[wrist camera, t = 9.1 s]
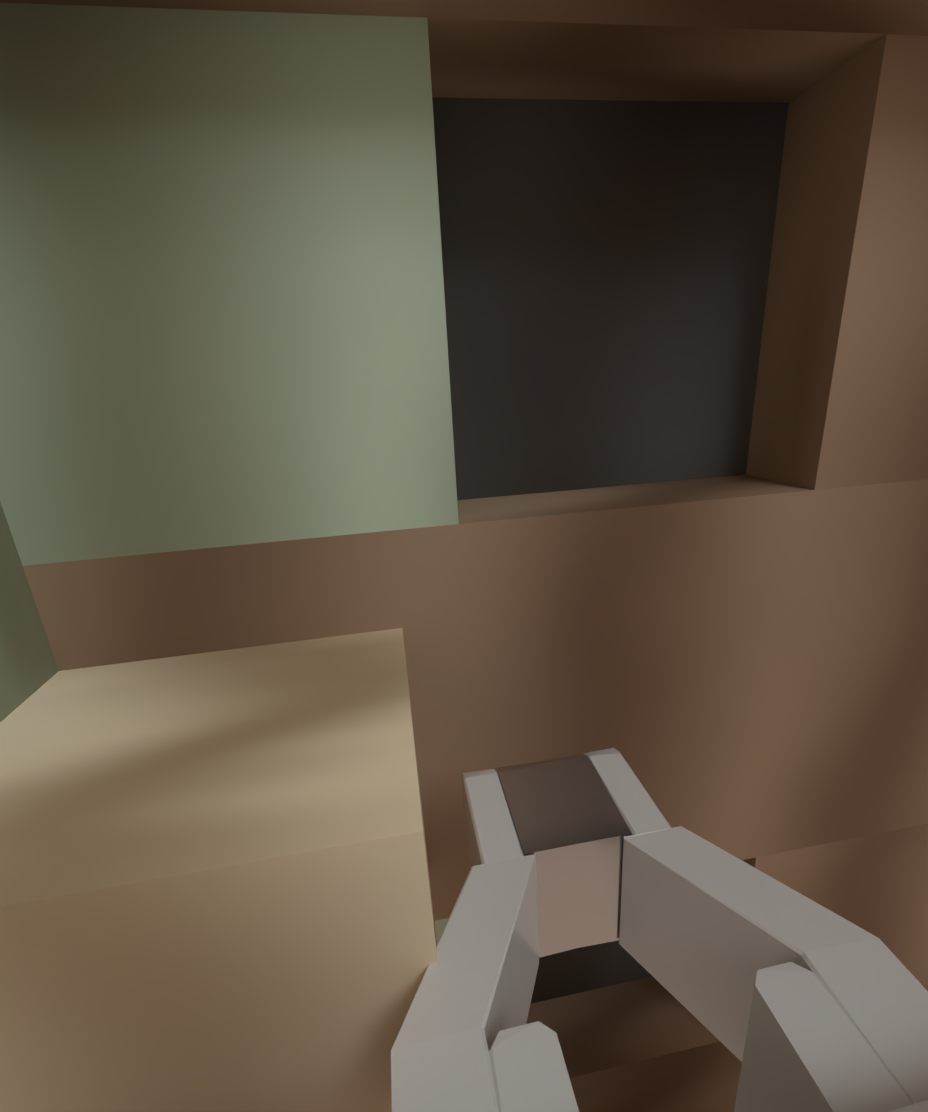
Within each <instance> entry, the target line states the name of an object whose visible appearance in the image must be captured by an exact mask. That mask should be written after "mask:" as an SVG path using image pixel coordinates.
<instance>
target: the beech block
mask: <svg viewBox="0 0 928 1112" xmlns="http://www.w3.org/2000/svg"><path fill="white" fill-rule="evenodd" d="M436 947H437V940H436V931H435V921H434V912H433V902H432V893H431V884H430V874H429V865H428V856H427V847H426V838H425V828H424V819H423V810H422V801H421V792H420V783H419V774H418V765H417V756H416V747H415V738H414V729H413V720H412V710H411V701H410V692H409V683H408V674H407V665H406V656H405V647H404V638H403V629H402V628H398V629H390V630H382V631H374V632H366V633H358V634H350V635H342V636H334V637H326V638H318V639H310V640H302V641H294V642H286V643H278V644H271V645H263V646H255V647H247V648H239V649H231V650H223V651H215V652H207V653H199V654H191V655H183V656H175V657H167V658H159V659H151V660H143V661H135V662H127V663H119V664H111V665H103V666H95V667H87V668H79V669H71V670H63V671H58V672H57V673H56V674H55V675H54V676H53V677H52V678H50V679H49V680H48V681H47V682H46V683H45V684H44V685H42V686H41V687H40V688H39V689H38V690H37V691H36V692H35V693H33V694H32V695H31V696H30V697H29V698H28V699H27V700H25V701H24V702H23V703H22V704H21V705H20V706H19V707H17V708H16V709H15V710H14V711H13V712H12V713H11V714H9V715H8V716H7V717H6V718H5V719H4V720H3V721H1V722H0V1112H392V1095H391V1049H392V1047H393V1045H394V1043H395V1040H396V1038H397V1036H398V1033H399V1031H400V1029H401V1027H402V1024H403V1022H404V1020H405V1017H406V1015H407V1013H408V1011H409V1008H410V1006H411V1004H412V1002H413V999H414V997H415V995H416V992H417V990H418V988H419V986H420V983H421V981H422V979H423V976H424V974H425V972H426V970H427V967H428V965H430V964H435V963H438V960H437V950H436Z"/></svg>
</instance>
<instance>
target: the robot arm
mask: <svg viewBox="0 0 928 1112" xmlns="http://www.w3.org/2000/svg"><path fill="white" fill-rule="evenodd" d="M462 791H463V804H464V816H465V829H466V838H467V846H468V854H469V862H470V871H469V874H468V876H467V878H466V881H465V883H464V885H463V887H462V890H461V892H460V894H459V897H458V899H457V901H456V903H455V906H454V908H453V910H452V913H451V915H450V917H449V919H448V922H447V924H446V926H445V929H444V931H443V933H442V935H441V938H440V940H439V942H438V944H437V947H436V950H437V960H438V963H435V964H430V965H428V967H427V970H426V972H425V974H424V976H423V979H422V981H421V983H420V986H419V988H418V990H417V992H416V995H415V997H414V999H413V1002H412V1004H411V1006H410V1008H409V1011H408V1013H407V1015H406V1017H405V1020H404V1022H403V1024H402V1027H401V1029H400V1031H399V1033H398V1036H397V1038H396V1040H395V1043H394V1045H393V1047H392V1049H391V1095H392V1112H579V1109H578V1106H577V1102H576V1099H575V1096H574V1092H573V1089H572V1085H571V1082H570V1078H569V1075H568V1071H567V1068H566V1064H565V1061H564V1057H563V1054H562V1050H561V1047H560V1043H559V1040H558V1036H557V1033H556V1032H554V1031H553V1030H551V1029H550V1028H548V1027H547V1026H545V1025H544V1024H542V1023H541V1022H539V1021H537V1022H533V1023H529V1024H526V1023H527V1018H528V1013H529V1008H530V1004H531V999H532V994H533V990H534V985H535V980H536V975H537V971H538V966H539V958H540V957H544V956H548V955H552V954H556V953H560V952H564V951H568V950H572V949H576V948H580V947H586V946H591V945H596V944H602V943H607V942H613V941H618V940H619V944H620V945H621V946H622V947H623V948H624V949H625V950H626V951H627V952H628V953H629V954H630V955H631V956H632V957H633V958H634V959H635V960H636V961H637V962H638V963H639V964H641V965H642V966H643V967H644V968H645V969H646V970H647V971H648V972H649V973H650V974H651V975H652V976H653V977H654V978H655V979H656V980H657V981H658V982H659V983H660V984H661V985H662V986H663V987H664V988H665V989H666V990H667V991H668V992H670V993H671V994H672V995H673V996H674V997H675V998H676V999H677V1000H678V1001H679V1002H680V1003H681V1004H682V1005H683V1006H684V1007H685V1008H686V1009H687V1010H688V1011H689V1012H690V1013H691V1014H692V1015H693V1016H694V1017H695V1018H696V1019H698V1020H699V1021H700V1022H701V1023H702V1024H703V1025H704V1026H705V1027H706V1028H707V1029H708V1030H709V1031H710V1032H711V1033H712V1034H713V1035H714V1036H715V1037H716V1038H717V1039H718V1040H719V1041H720V1042H721V1043H722V1044H723V1045H724V1046H725V1047H727V1048H728V1049H729V1050H730V1051H731V1052H732V1053H733V1054H734V1055H735V1056H736V1057H737V1058H738V1059H739V1060H740V1061H741V1062H742V1066H741V1072H740V1078H739V1084H738V1090H737V1096H736V1102H735V1108H734V1112H928V991H927V990H926V989H925V988H924V987H923V986H922V984H921V983H920V982H919V981H918V980H917V979H916V978H915V977H914V976H913V975H912V974H911V972H910V971H909V970H908V969H907V968H906V967H905V966H904V965H903V964H902V963H901V962H900V960H899V959H898V958H897V957H896V956H895V955H894V954H893V953H892V952H891V951H890V950H889V948H888V947H887V946H886V945H885V944H884V943H883V942H882V941H881V940H880V939H879V938H878V937H876V936H874V935H873V934H871V933H869V932H867V931H866V930H864V929H862V928H860V927H859V926H857V925H855V924H853V923H851V922H850V921H848V920H846V919H844V918H843V917H841V916H839V915H837V914H836V913H834V912H832V911H830V910H829V909H827V908H825V907H823V906H821V905H820V904H818V903H816V902H814V901H813V900H811V899H809V898H807V897H806V896H804V895H802V894H800V893H799V892H797V891H795V890H793V889H792V888H790V887H788V886H786V885H784V884H783V883H781V882H779V881H777V880H776V879H774V878H772V877H770V876H769V875H767V874H765V873H763V872H762V871H760V870H758V869H756V868H754V867H753V866H751V865H749V864H747V863H746V862H744V861H742V860H740V859H739V858H737V857H735V856H733V855H732V854H730V853H728V852H726V851H724V850H723V849H721V848H719V847H717V846H716V845H714V844H712V843H710V842H709V841H707V840H705V839H703V838H702V837H700V836H698V835H696V834H695V833H693V832H691V831H689V830H687V829H686V828H684V827H682V826H679V827H673V828H671V826H670V825H669V823H668V822H667V820H666V819H665V817H664V816H663V814H662V813H661V812H660V810H659V809H658V807H657V806H656V804H655V803H654V801H653V800H652V798H651V797H650V795H649V794H648V793H647V791H646V790H645V788H644V787H643V785H642V784H641V782H640V781H639V779H638V778H637V776H636V775H635V774H634V772H633V771H632V769H631V768H630V766H629V765H628V763H627V762H626V760H625V759H624V757H623V756H622V755H621V753H620V752H619V751H618V750H616V749H615V748H609V749H604V750H599V751H593V752H588V753H584V754H583V755H575V756H569V757H564V758H558V759H552V760H546V761H539V762H532V763H525V764H518V765H511V766H504V767H497V768H495V770H494V769H488V770H481V771H474V772H467V773H462Z"/></svg>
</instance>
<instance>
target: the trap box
mask: <svg viewBox="0 0 928 1112" xmlns="http://www.w3.org/2000/svg"><path fill="white" fill-rule="evenodd" d="M398 628H402V629H403V638H404V647H405V656H406V665H407V674H408V683H409V692H410V701H411V710H412V720H413V729H414V738H415V747H416V756H417V765H418V774H419V783H420V792H421V801H422V810H423V819H424V828H425V838H426V847H427V856H428V865H429V874H430V884H431V893H432V902H433V912H434V921H435V931H436V940H437V944H438V942H439V940H440V938H441V935H442V933H443V931H444V929H445V926H446V924H447V922H448V919H449V917H450V915H451V913H452V910H453V908H454V906H455V903H456V901H457V899H458V897H459V894H460V892H461V890H462V887H463V885H464V883H465V881H466V878H467V876H468V874H469V871H470V862H469V854H468V846H467V838H466V829H465V816H464V804H463V791H462V773H467V772H474V771H481V770H488V769H494V770H495V768H497V767H504V766H511V765H518V764H525V763H532V762H539V761H546V760H552V759H558V758H564V757H569V756H575V755H583V754H584V753H588V752H593V751H599V750H604V749H609V748H615V749H616V750H618V751H619V752H620V753H621V755H622V756H623V757H624V759H625V760H626V762H627V763H628V765H629V766H630V768H631V769H632V771H633V772H634V774H635V775H636V776H637V778H638V779H639V781H640V782H641V784H642V785H643V787H644V788H645V790H646V791H647V793H648V794H649V795H650V797H651V798H652V800H653V801H654V803H655V804H656V806H657V807H658V809H659V810H660V812H661V813H662V814H663V816H664V817H665V819H666V820H667V822H668V823H669V825H670V826H671V828H673V827H679V826H682V827H684V828H686V829H687V830H689V831H691V832H693V833H695V834H696V835H698V836H700V837H702V838H703V839H705V840H707V841H709V842H710V843H712V844H714V845H716V846H717V847H719V848H721V849H723V850H724V851H726V852H728V853H730V854H732V855H733V856H735V857H737V858H739V859H740V860H742V861H744V862H746V863H747V864H749V865H751V866H753V867H754V868H756V869H758V870H760V871H762V872H763V873H765V874H767V875H769V876H770V877H772V878H774V879H776V880H777V881H779V882H781V883H783V884H784V885H786V886H788V887H790V888H792V889H793V890H795V891H797V892H799V893H800V894H802V895H804V896H806V897H807V898H809V899H811V900H813V901H814V902H816V903H818V904H820V905H821V906H823V907H825V908H827V909H829V910H830V911H832V912H834V913H836V914H837V915H839V916H841V917H843V918H844V919H846V920H848V921H850V922H851V923H853V924H855V925H857V926H859V927H860V928H862V929H864V930H866V931H867V932H869V933H871V934H873V935H874V936H876V937H878V938H879V939H880V940H881V941H882V942H883V943H884V944H885V945H886V946H887V947H888V948H889V950H890V951H891V952H892V953H893V954H894V955H895V956H896V957H897V958H898V959H899V960H900V962H901V963H902V964H903V965H904V966H905V967H906V968H907V969H908V970H909V971H910V972H911V974H912V975H913V976H914V977H915V978H916V979H917V980H918V981H919V982H920V983H921V984H922V986H923V987H924V988H925V989H926V990H927V991H928V0H0V722H1V721H3V720H4V719H5V718H6V717H7V716H8V715H9V714H11V713H12V712H13V711H14V710H15V709H16V708H17V707H19V706H20V705H21V704H22V703H23V702H24V701H25V700H27V699H28V698H29V697H30V696H31V695H32V694H33V693H35V692H36V691H37V690H38V689H39V688H40V687H41V686H42V685H44V684H45V683H46V682H47V681H48V680H49V679H50V678H52V677H53V676H54V675H55V674H56V673H57V672H58V671H63V670H71V669H79V668H87V667H95V666H103V665H111V664H119V663H127V662H135V661H143V660H151V659H159V658H167V657H175V656H183V655H191V654H199V653H207V652H215V651H223V650H231V649H239V648H247V647H255V646H263V645H271V644H278V643H286V642H294V641H302V640H310V639H318V638H326V637H334V636H342V635H350V634H358V633H366V632H374V631H382V630H390V629H398ZM537 1021H539V1022H541V1023H542V1024H544V1025H545V1026H547V1027H548V1028H550V1029H551V1030H553V1031H554V1032H556V1033H557V1036H558V1040H559V1043H560V1047H561V1050H562V1054H563V1057H564V1061H565V1064H566V1068H567V1071H568V1075H569V1078H570V1082H571V1085H572V1089H573V1092H574V1096H575V1099H576V1102H577V1106H578V1109H579V1112H734V1108H735V1102H736V1096H737V1090H738V1084H739V1078H740V1072H741V1066H742V1062H741V1061H740V1060H739V1059H738V1058H737V1057H736V1056H735V1055H734V1054H733V1053H732V1052H731V1051H730V1050H729V1049H728V1048H727V1047H725V1046H724V1045H723V1044H722V1043H721V1042H720V1041H719V1040H718V1039H717V1038H716V1037H715V1036H714V1035H713V1034H712V1033H711V1032H710V1031H709V1030H708V1029H707V1028H706V1027H705V1026H704V1025H703V1024H702V1023H701V1022H700V1021H699V1020H698V1019H696V1018H695V1017H694V1016H693V1015H692V1014H691V1013H690V1012H689V1011H688V1010H687V1009H686V1008H685V1007H684V1006H683V1005H682V1004H681V1003H680V1002H679V1001H678V1000H677V999H676V998H675V997H674V996H673V995H672V994H671V993H670V992H668V991H667V990H666V989H665V988H664V987H663V986H662V985H661V984H660V983H659V982H658V981H657V980H656V979H655V978H654V977H653V976H652V975H651V974H650V973H649V972H648V971H647V970H646V969H645V968H644V967H643V966H642V965H641V964H639V963H638V962H637V961H636V960H635V959H634V958H633V957H632V956H631V955H630V954H629V953H628V952H627V951H626V950H625V949H624V948H623V947H622V946H621V945H620V944H619V940H618V941H613V942H607V943H602V944H596V945H591V946H586V947H580V948H576V949H572V950H568V951H564V952H560V953H556V954H552V955H548V956H544V957H540V958H539V966H538V971H537V975H536V980H535V985H534V990H533V994H532V999H531V1004H530V1008H529V1013H528V1018H527V1023H526V1024H529V1023H533V1022H537Z"/></svg>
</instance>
